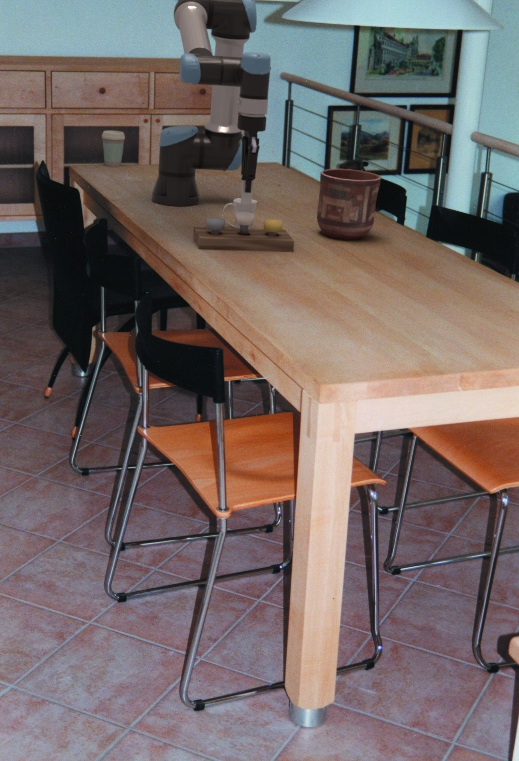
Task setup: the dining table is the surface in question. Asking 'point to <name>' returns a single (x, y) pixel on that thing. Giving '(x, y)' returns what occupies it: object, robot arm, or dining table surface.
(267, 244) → the panel
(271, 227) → the mustard button
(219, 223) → the slate button
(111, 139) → the coffee cup
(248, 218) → the cream button
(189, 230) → the dining table surface
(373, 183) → the pottery
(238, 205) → the cup
